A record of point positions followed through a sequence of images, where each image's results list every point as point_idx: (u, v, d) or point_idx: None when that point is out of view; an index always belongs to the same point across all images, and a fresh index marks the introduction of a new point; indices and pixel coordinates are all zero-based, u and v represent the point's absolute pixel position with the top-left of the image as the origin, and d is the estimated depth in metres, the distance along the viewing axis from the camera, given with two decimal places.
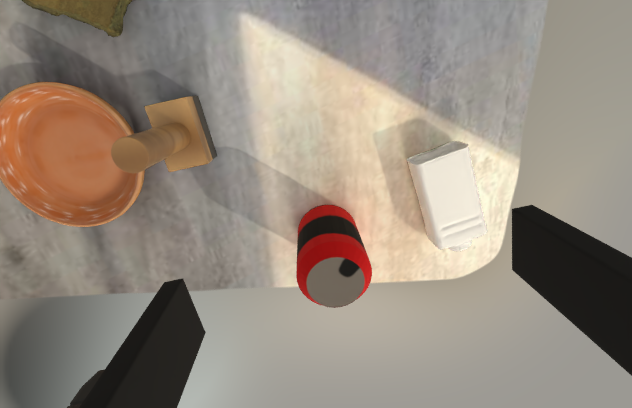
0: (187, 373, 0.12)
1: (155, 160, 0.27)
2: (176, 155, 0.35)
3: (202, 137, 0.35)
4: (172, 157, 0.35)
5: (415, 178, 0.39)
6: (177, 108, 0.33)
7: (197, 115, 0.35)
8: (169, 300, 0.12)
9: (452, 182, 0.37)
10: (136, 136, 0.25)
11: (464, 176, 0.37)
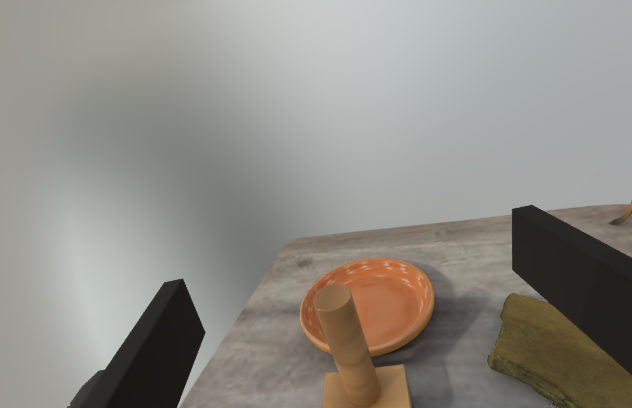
0: (187, 373, 0.12)
1: (323, 324, 0.23)
2: (341, 385, 0.28)
3: None
4: (340, 380, 0.29)
5: None
6: (397, 400, 0.26)
7: None
8: (169, 300, 0.12)
9: None
10: (350, 308, 0.23)
11: None
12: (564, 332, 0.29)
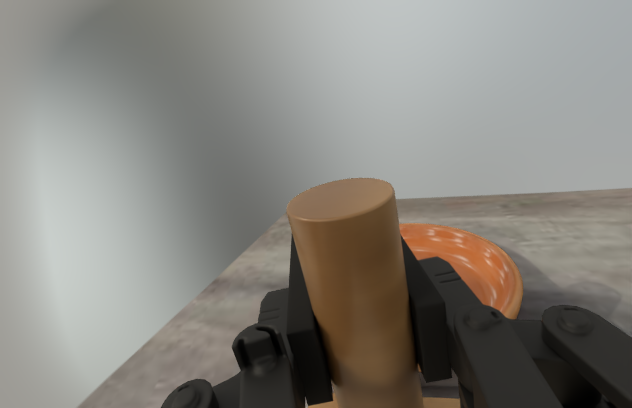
0: None
1: (307, 267, 0.08)
2: None
3: None
4: None
5: None
6: None
7: None
8: None
9: None
10: (390, 226, 0.08)
11: None
12: None
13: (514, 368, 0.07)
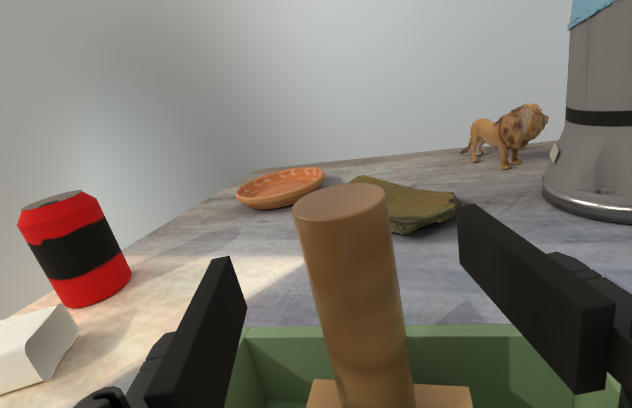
0: (237, 340, 0.13)
1: (309, 260, 0.10)
2: (340, 407, 0.14)
3: None
4: (339, 397, 0.15)
5: (47, 320, 0.32)
6: None
7: None
8: (221, 273, 0.13)
9: None
10: (380, 226, 0.09)
11: None
12: None
13: None
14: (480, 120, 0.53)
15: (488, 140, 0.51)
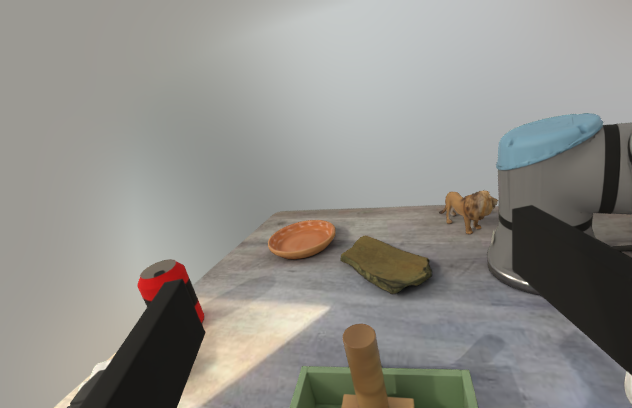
0: (187, 373, 0.12)
1: (349, 357, 0.28)
2: (357, 407, 0.33)
3: None
4: (356, 403, 0.33)
5: None
6: None
7: None
8: (169, 300, 0.12)
9: None
10: (373, 348, 0.27)
11: None
12: (374, 249, 0.65)
13: None
14: (452, 194, 0.71)
15: (457, 210, 0.69)
